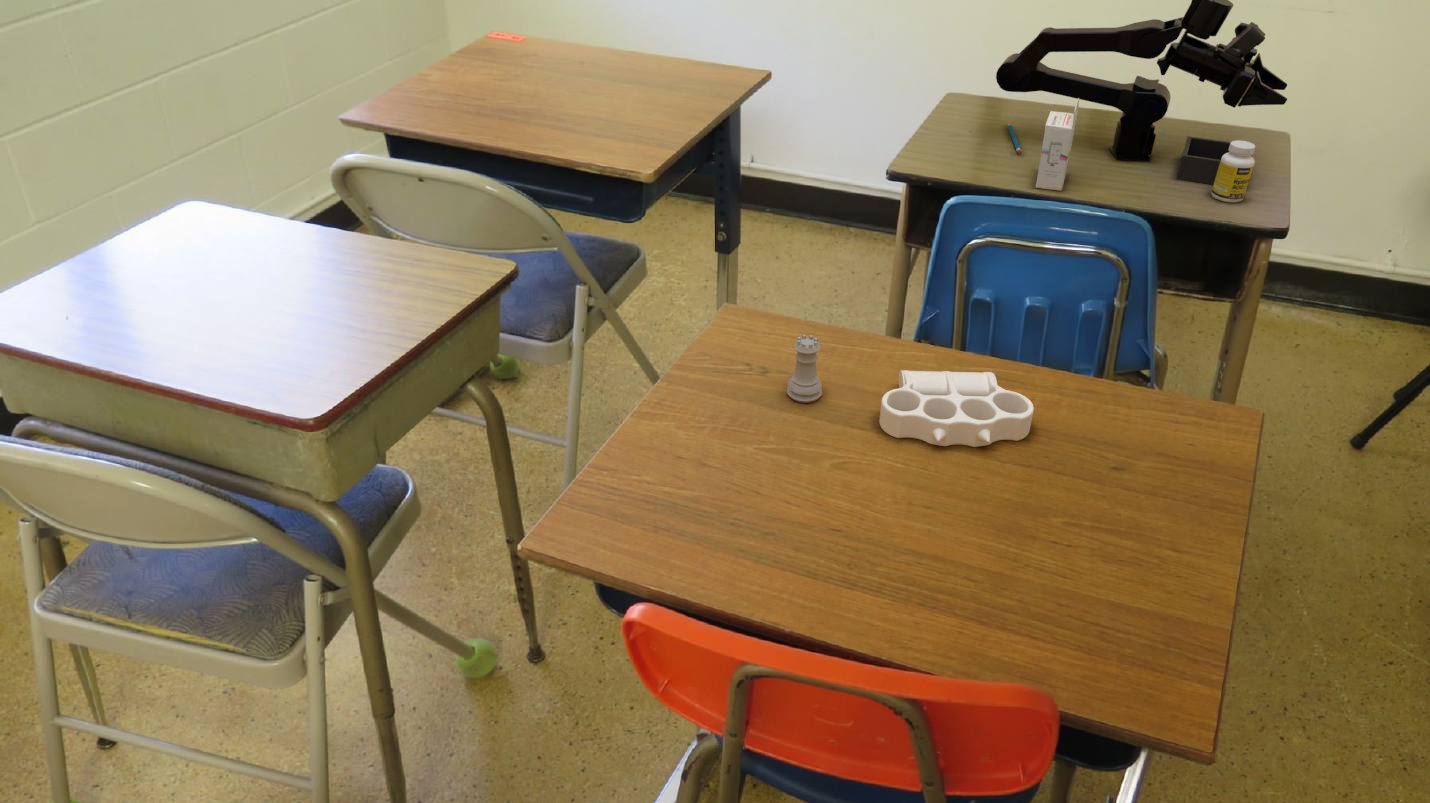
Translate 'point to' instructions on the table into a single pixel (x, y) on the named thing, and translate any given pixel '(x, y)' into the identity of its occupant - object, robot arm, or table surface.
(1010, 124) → the pencil
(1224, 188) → the supplement bottle
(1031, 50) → the robot arm
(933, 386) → the knuckle duster
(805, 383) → the rook chess piece
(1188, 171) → the bin
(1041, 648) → the table surface
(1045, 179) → the ink cartridge box
